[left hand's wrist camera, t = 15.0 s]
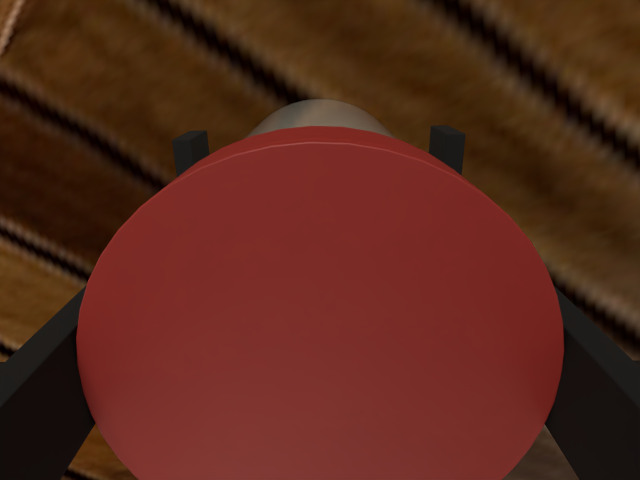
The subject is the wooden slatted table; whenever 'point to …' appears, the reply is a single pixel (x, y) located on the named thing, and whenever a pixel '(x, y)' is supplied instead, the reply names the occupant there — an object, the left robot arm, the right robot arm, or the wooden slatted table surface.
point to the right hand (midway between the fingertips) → (318, 132)
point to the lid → (320, 320)
